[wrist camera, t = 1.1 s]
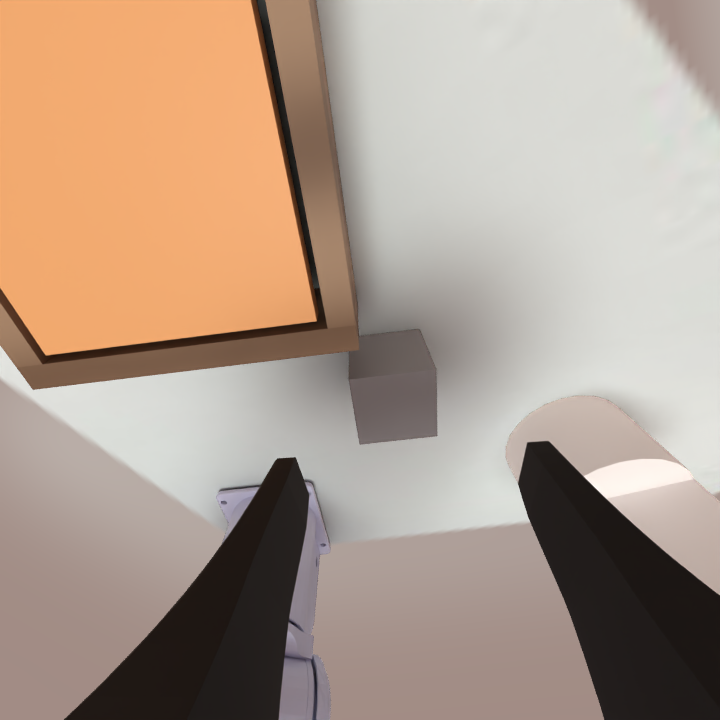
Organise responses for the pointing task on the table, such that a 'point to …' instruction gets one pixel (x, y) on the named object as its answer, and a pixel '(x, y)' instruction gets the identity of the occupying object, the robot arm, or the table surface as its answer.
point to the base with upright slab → (630, 477)
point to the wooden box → (326, 227)
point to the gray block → (393, 387)
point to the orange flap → (144, 174)
